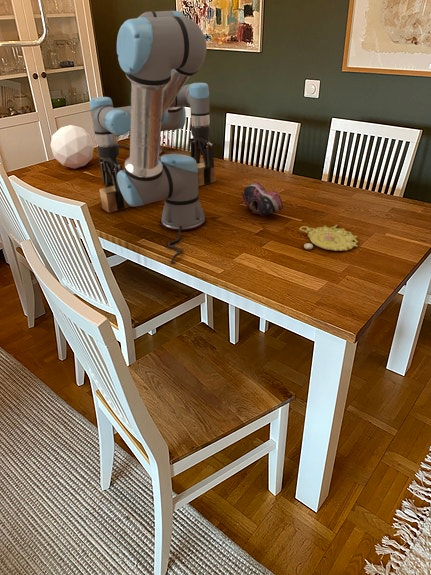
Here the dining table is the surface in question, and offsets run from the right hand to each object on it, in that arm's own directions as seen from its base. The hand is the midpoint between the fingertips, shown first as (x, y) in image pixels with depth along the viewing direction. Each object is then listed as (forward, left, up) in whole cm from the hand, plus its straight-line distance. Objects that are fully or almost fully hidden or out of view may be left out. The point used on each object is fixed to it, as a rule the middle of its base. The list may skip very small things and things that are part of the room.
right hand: (117, 206), depth 169 cm
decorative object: (-42, -68, -1) cm, 80 cm away
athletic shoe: (-15, -52, -1) cm, 54 cm away
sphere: (+57, +21, -1) cm, 61 cm away
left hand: (+21, -36, 0) cm, 41 cm away
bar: (+10, -18, -1) cm, 21 cm away
